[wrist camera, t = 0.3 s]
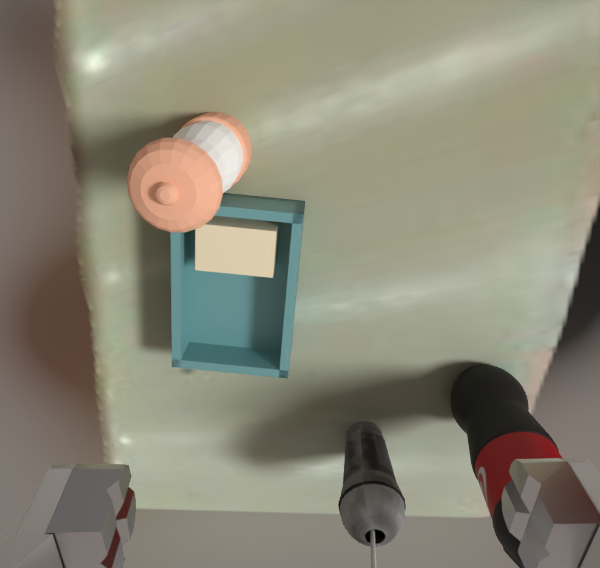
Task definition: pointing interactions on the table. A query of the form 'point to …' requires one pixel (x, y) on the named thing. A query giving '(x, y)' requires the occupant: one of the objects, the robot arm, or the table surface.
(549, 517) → the robot arm
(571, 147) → the table surface
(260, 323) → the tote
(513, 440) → the cola bottle
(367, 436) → the beverage cup
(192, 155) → the salt shaker
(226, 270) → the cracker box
